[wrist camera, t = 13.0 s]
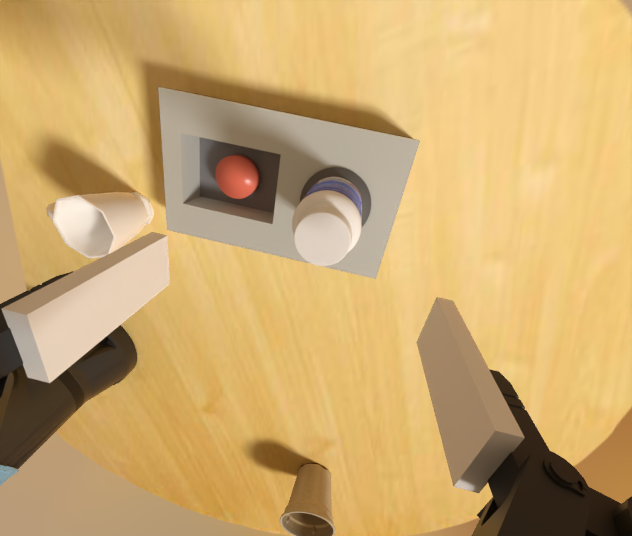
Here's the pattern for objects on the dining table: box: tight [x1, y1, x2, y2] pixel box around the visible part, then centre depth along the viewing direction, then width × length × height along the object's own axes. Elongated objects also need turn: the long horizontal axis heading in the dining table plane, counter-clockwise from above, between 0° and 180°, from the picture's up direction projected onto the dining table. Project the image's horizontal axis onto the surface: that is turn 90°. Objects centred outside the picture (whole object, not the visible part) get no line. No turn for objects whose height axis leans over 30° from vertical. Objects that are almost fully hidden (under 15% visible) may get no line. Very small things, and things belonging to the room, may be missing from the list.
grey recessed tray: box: [158, 87, 420, 279], centre depth 31 cm, size 24×14×4 cm, turn 80°
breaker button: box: [215, 154, 260, 199], centre depth 32 cm, size 4×4×2 cm
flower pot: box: [280, 464, 335, 536], centre depth 53 cm, size 9×9×9 cm
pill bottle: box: [292, 177, 362, 266], centre depth 24 cm, size 5×5×10 cm
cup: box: [47, 191, 154, 259], centre depth 33 cm, size 7×10×8 cm
